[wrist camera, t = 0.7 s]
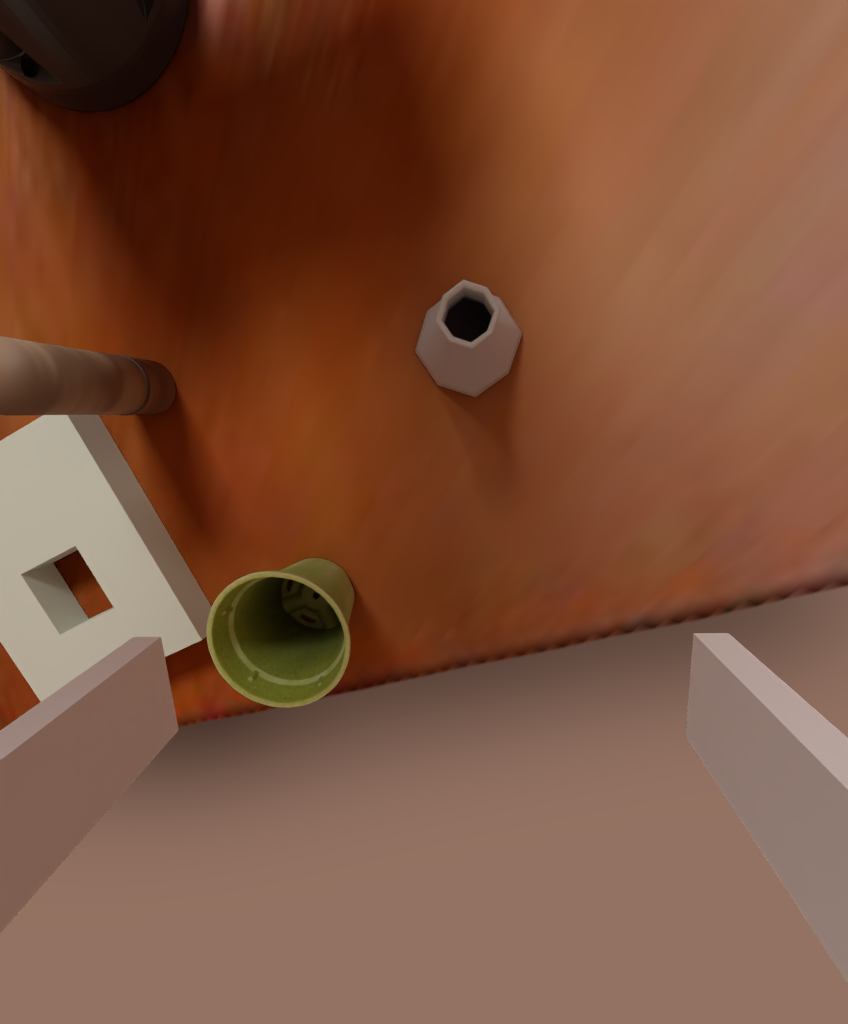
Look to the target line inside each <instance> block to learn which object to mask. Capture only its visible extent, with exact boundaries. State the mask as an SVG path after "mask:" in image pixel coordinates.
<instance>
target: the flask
mask: <svg viewBox="0 0 848 1024" xmlns="http://www.w3.org/2000/svg"><path fill="white" fill-rule="evenodd" d="M522 334H523V332H522V331H521V329H520V328H519V326H518V325H517V323H516V321H515V320H514V318H513V317H512V315H511V314H510V312H509V311H508V309H507V308H506V306H505V304H504V303H503V301H502V300H501V298H500V297H497V296H494V295H492V294H491V292H490V291H489V289H488V288H487V287H485V286H482V285H479V284H476V283H473V282H470V281H466V280H462V281H461V282H459V283H458V284H457V285H456V286H454V287H453V288H452V289H450V290H449V291H448V292H447V293H445V294H444V295H443V296H442V299H441V300H440V301H439V302H437V303H436V304H435V305H433V306H432V307H431V308H430V309H428V310H427V311H426V315H425V318H424V321H423V325H422V328H421V331H420V335H419V338H418V341H417V345H416V348H415V351H414V352H415V353H416V355H417V356H418V358H419V359H420V361H421V362H422V364H423V365H424V367H425V368H426V369H427V371H428V372H429V374H430V375H431V377H432V378H433V380H434V381H435V383H436V384H437V385H438V386H441V387H444V388H447V389H450V390H453V391H456V392H459V393H462V394H465V395H468V396H471V397H477V396H478V395H480V394H481V393H482V392H484V391H485V390H487V389H488V388H489V387H491V386H492V385H493V384H495V383H496V382H498V381H499V380H500V379H502V378H503V377H505V376H506V375H507V374H509V371H510V368H511V366H512V363H513V360H514V357H515V354H516V351H517V348H518V345H519V342H520V340H521V337H522Z"/></svg>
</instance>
